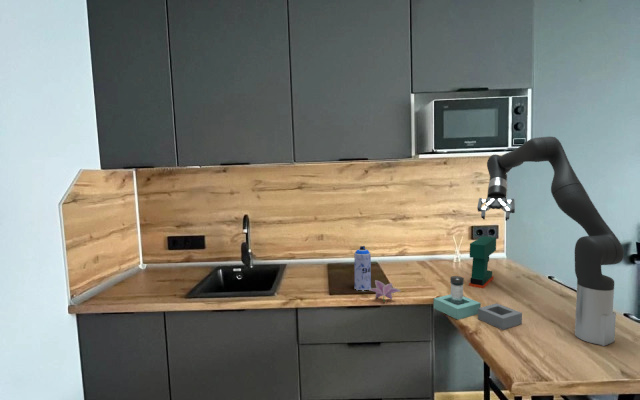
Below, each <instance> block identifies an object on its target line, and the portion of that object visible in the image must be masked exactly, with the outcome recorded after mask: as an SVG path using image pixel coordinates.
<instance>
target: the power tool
mask: <svg viewBox="0 0 640 400" xmlns="http://www.w3.org/2000/svg"><path fill="white" fill-rule="evenodd" d="M496 251H497V237H493V236H484V235H483V236H480V237H479V238H477V239H476V240H473V241H472V242H470V243H469V258H472V264H471V265H472V266H471V277H469V278H470V280H469V281H470V282H469V283H468V286H469V287H473V288H474V287H475V288H477V289H478V288H479V289H485V287H488V285H489V284H488V283H489V282H492V280H494V275H493V270H488V268H489V267H488V265H489V262H490V256H491V255H492V254H493V253H495V252H496Z"/></svg>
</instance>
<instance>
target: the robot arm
mask: <svg viewBox="0 0 640 400" xmlns="http://www.w3.org/2000/svg"><path fill="white" fill-rule="evenodd" d="M525 162H529V163H530V162H534V163H539V162H540V163H541V162H548V163H550V165H551V167H552V169H553V172H554V173H553V178H552V182H551V184H550V192H551V195H552V197H553V199H554V201H555V203H556V205H557V206H558V208H559V209H560V210H561V211H562V212H563V213H564V214H565V215H567V217H569V218H571V220H573V221H575V222H576V223H577V224H578V225H580V226H581V227H582V228H583V230H584V231H585V232H586V234H587V235H585V236H581V237H579V238H578V239H577V241H576V242H575V245H574V273H575V276H576V299H575V301H576V302H575V321H574V323H575V325H574V335H575V337H577V339H579V340H582V341H585V342H587V343H590V344H594V345H599V346H603V347H605V346H608V345H610V344H612V343H614V342H615V338H616V337H615V336H616V317H617V312H615V311H614V294H615V280H614V279H613V278H612V277H610V276H607V275H604V274H602V273H603V272H602V266H611V265H618V264H620V263H621V262H622V261H623V259H624V256H625V255H624V254H625V253H624V248H623V245H622V244H621V241H620V240H619V239H618V237H617V236H616V234H615V233H614V232H613V231H612V229H611V228H610V226H609V225H608V224H607V222H606V221H605V220H604V219H603V217H602V216H601V214H600V213H599V211H598V209H597V208H596V206H595V204H594V203H593V201H592V199H591V198H590V196H589V194H588V192H587V190H586V189H585V188H584V186H583V183H582V182H581V181H580V180H579V178H578V176H577V174H576V172H575V170H574V169H573V167H572V164H571V163H570V161H569V159H568V156H567V154H566V152H565V149H564V147H563V145H562V143H561V141H560V140H559V139H558V138H557V137H555V136H541V137H533V138H530V139H529V140H526V141H525V142H524V143H523V144H522V145H520V146H519V147H517V148H516V149H514V150H511V151H509V152H506V153H504V154H502V156H501V155H499V154H491V156H489V157H488V159H487V162H486V168H487V172H488V175H489V181H488V185H487V186H488V187H487V195H486V198H484V199H483V198H482V197H479V198H478V203H477V206H476V207H477V212H479V213H480V215H481V216H480V217H481V219H482V220H486V212H487V211H489V210H490V209H493V210H502V211H504V212H505V216H504V217H505V221H508V220H510V214H514V213H516V212H515V211H516V210H515V206H516V205H515V203H516V202H515V198H511V199H507V196H508V195H507V194H508V192H507V191H508V183H507V182H508V173H509V172H510V170H511V169H513V168H516V167H519V166H521V165H522V164H524V163H525ZM484 204H485V205H484ZM507 204H508V205H510V206H511V207H510V208H509V207H508V205H507Z"/></svg>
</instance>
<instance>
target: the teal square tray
mask: <svg viewBox="0 0 640 400" xmlns="http://www.w3.org/2000/svg"><path fill="white" fill-rule="evenodd" d="M481 307H482V305H481V302H479V301H477V300H474V299H471V298H469V297H467V296H464V295H463V304H461V305H455V304H453V303H451V293H450V294H447V295H443V296H438V297H434V298H433V310H437V311H438V312H441V313H443V314H446V316H449V317H452V318H453V319H456V320H461V319H465V318H468V317H472V316H475V315H478V308H481Z"/></svg>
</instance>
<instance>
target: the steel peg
mask: <svg viewBox="0 0 640 400" xmlns="http://www.w3.org/2000/svg"><path fill="white" fill-rule="evenodd" d="M464 278H465V277H463V276H459V275H453V276H450V282H449V283H450V294H451V303H453V304H455V305H461V304H463V296H464V283H465V279H464Z"/></svg>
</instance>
